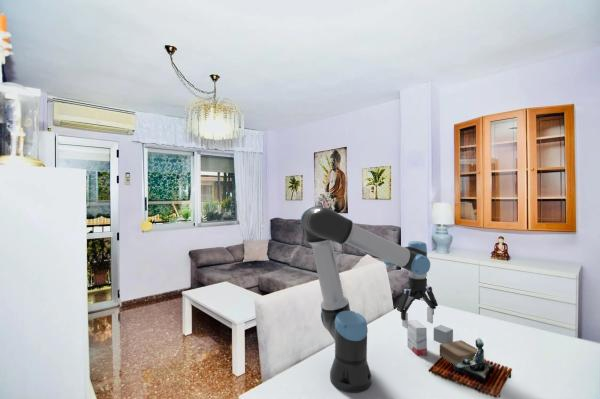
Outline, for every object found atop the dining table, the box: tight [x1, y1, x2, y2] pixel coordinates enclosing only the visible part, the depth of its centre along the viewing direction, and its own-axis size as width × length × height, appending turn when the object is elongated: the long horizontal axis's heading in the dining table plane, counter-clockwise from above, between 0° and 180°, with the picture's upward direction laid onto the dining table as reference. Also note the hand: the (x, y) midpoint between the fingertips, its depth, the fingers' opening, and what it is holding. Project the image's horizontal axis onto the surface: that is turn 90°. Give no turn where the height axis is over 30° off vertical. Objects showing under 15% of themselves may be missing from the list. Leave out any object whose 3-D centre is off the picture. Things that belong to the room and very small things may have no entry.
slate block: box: [433, 324, 454, 344], centre depth 141 cm, size 6×6×6 cm
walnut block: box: [439, 339, 479, 366], centre depth 125 cm, size 12×10×5 cm
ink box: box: [406, 319, 428, 357], centre depth 132 cm, size 9×5×12 cm, turn 8°
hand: (417, 324), depth 132 cm, fingers open, 13 cm apart
